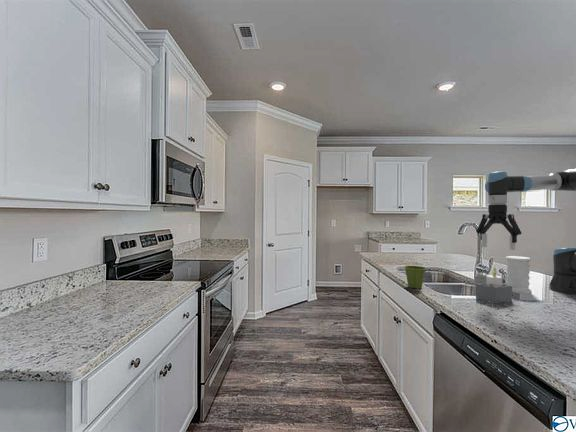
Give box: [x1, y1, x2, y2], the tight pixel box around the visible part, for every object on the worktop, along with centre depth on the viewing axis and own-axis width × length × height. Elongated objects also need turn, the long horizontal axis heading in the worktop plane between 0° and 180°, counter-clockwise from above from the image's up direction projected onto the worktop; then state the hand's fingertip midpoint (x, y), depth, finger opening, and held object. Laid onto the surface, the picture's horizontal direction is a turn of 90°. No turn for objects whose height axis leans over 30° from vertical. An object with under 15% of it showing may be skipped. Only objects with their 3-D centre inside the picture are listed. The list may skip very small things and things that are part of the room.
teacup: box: [473, 274, 505, 287], centre depth 172 cm, size 14×11×8 cm
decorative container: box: [505, 255, 532, 295], centre depth 171 cm, size 12×12×18 cm
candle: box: [486, 266, 503, 288], centre depth 154 cm, size 6×6×15 cm
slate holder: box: [475, 283, 513, 304], centre depth 154 cm, size 11×10×7 cm
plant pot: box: [404, 265, 427, 290], centre depth 181 cm, size 12×12×11 cm
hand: (497, 248), depth 154 cm, fingers open, 13 cm apart
